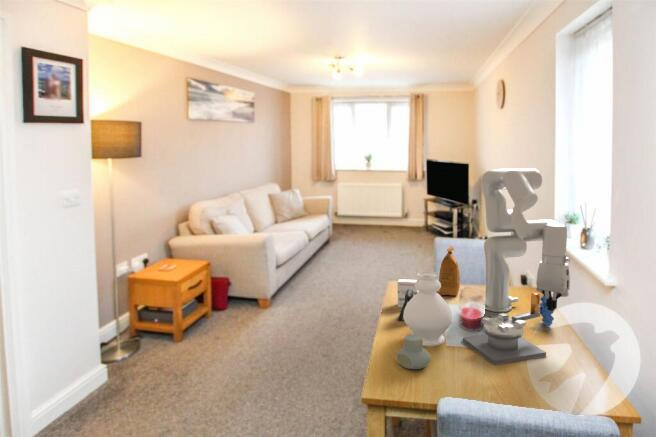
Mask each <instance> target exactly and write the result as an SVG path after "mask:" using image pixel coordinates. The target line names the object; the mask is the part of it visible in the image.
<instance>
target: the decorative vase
mask: <svg viewBox="0 0 656 437" xmlns="http://www.w3.org/2000/svg"><path fill="white" fill-rule="evenodd" d="M416 276H417V278H418V279H416V280H417V281H416V282H415V288H416V289H417V290H418V293H417V294H416V295H415V296H414V297H413V298H412V299H411V300H410V301H409V302H408V304H407V305H406V307H405V309H404V314H403V317H404V321H405V322H404V321H403V322H404V323H405V325H406V326H407V327H408V329H409V330H410V332H411V333H412V334H417V335H420V336H421V337H422V347H423V346H424V347H436V346H440V345H442V344H444V343H445V341H446V337H445V336H444V333H446V331H447V330H449V328H450V326H451V324H452V323H453V311H452V309H451V307H450V305H449V304H448V303H447V301H446V300H445V299H444V298H443V297H442V295H440V294H439V289H440V288H441V283H440V282H439V274H438V272H435V271H420V272H418V273H417V274H416Z"/></svg>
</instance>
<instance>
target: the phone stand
mask: <svg viewBox="0 0 656 437" xmlns="http://www.w3.org/2000/svg"><path fill="white" fill-rule="evenodd" d="M408 291H409V289H408V290H407V291H406V294H405V302H404V304H403V307H401V310H400V312H399V316H398V318H397V322H404V323H405V321H404V317H403V314H404V309H405V307H406V305H407V302H409V301H410V300H411V299H412V298H413V297H414V296H413V294H414V292H413V290H412V289H411V291H410V295H408Z"/></svg>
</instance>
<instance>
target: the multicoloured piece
mask: <svg viewBox="0 0 656 437" xmlns="http://www.w3.org/2000/svg"><path fill="white" fill-rule="evenodd" d="M540 299H541V293H540V292H531V293H530V311H529V312H526V313H520V314H518V315H513V316H511V318H510V316H509V314H507V313H506V312H500V313H498V316H497V317H496V316H495V317H488V316H484V317H481V323H483V332H484V334H487V335H488V336H490V337H493V338H497V339H504V340H513V339H518V338H520V337H522V338H523V335H524V327H526V320H527V321H528V320H532V319H536V318H539V317H541V314H540V312H539V311H540V303H541V300H540Z"/></svg>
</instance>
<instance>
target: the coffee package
mask: <svg viewBox="0 0 656 437" xmlns="http://www.w3.org/2000/svg"><path fill="white" fill-rule="evenodd" d="M446 250H447V253H446V255H445V256H444V257H443V259H442V261H441V263H440V264H441V265H440V268H439V274H438V281H439V282H440V283H441V288H440V289H439V290H438V294H439V295H440V296H458V295H459V291H460V284H461V281H460V280H461V275H460V273H461V272H460V268H459V267H460V265H459V264H458V261H457V259H456V258H455V257H454V254H453V251H454V250H455V247H454V246H453V245H452V246H449V247H448V248H447V249H446Z"/></svg>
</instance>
